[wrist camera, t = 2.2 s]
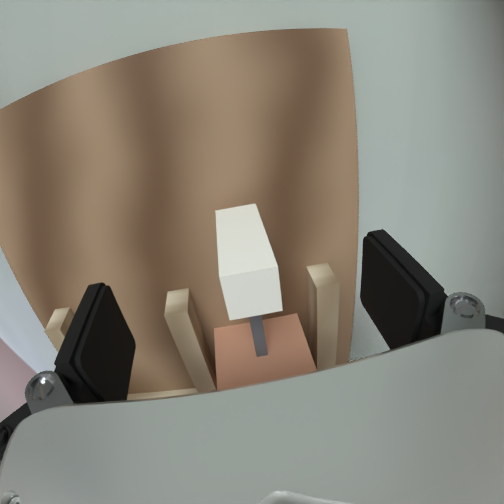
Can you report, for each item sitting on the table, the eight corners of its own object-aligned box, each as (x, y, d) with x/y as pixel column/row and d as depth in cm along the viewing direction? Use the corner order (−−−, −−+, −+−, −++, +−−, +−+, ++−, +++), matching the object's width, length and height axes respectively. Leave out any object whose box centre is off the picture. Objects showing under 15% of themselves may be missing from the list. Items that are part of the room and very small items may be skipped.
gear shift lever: (286, 191, 15) (328, 256, 10) (300, 364, 21) (321, 437, 16) (181, 210, 15) (168, 285, 10) (229, 378, 21) (237, 453, 16)
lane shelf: (335, 32, 13) (366, 23, 10) (341, 354, 24) (356, 388, 21) (-23, 126, 12) (-60, 141, 9) (101, 389, 23) (94, 423, 20)
